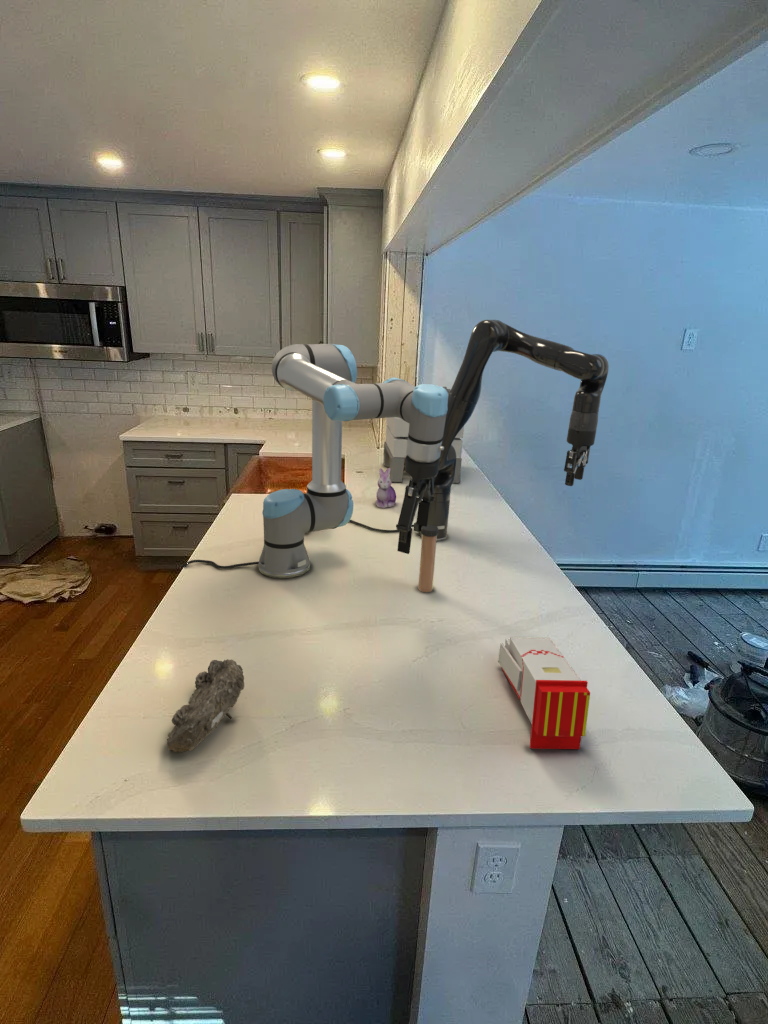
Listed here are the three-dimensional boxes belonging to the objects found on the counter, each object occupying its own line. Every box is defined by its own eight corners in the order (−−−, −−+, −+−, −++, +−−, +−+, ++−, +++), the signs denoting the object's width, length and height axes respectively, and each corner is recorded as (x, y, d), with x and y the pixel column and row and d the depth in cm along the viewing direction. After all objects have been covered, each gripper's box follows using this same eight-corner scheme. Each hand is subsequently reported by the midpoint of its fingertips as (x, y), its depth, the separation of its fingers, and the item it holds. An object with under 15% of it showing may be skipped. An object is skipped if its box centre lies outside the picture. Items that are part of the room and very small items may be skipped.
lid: (417, 533, 155) (417, 527, 155) (427, 528, 159) (428, 523, 158) (431, 538, 152) (431, 532, 152) (441, 533, 156) (442, 528, 155)
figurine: (380, 509, 222) (382, 473, 217) (369, 501, 231) (370, 466, 226) (401, 507, 226) (404, 470, 221) (389, 499, 235) (391, 464, 230)
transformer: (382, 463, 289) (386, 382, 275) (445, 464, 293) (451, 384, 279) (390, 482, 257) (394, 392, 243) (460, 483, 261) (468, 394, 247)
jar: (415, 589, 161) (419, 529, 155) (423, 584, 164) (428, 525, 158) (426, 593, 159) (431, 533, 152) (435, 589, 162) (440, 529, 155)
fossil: (192, 660, 117) (244, 628, 112) (224, 691, 120) (276, 661, 115) (142, 746, 98) (202, 712, 93) (182, 779, 101) (242, 748, 96)
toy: (546, 620, 128) (599, 688, 99) (541, 675, 131) (591, 756, 102) (493, 619, 128) (531, 687, 99) (489, 674, 131) (524, 755, 101)
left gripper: (421, 482, 113) (410, 569, 124) (454, 441, 134) (442, 518, 144) (386, 474, 115) (379, 559, 126) (424, 434, 136) (414, 511, 147)
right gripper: (577, 422, 167) (568, 474, 173) (561, 428, 156) (552, 484, 162) (603, 425, 163) (593, 479, 169) (588, 433, 152) (578, 490, 158)
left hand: (412, 537), depth 135 cm, fingers open, 13 cm apart
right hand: (573, 482), depth 165 cm, fingers open, 8 cm apart
